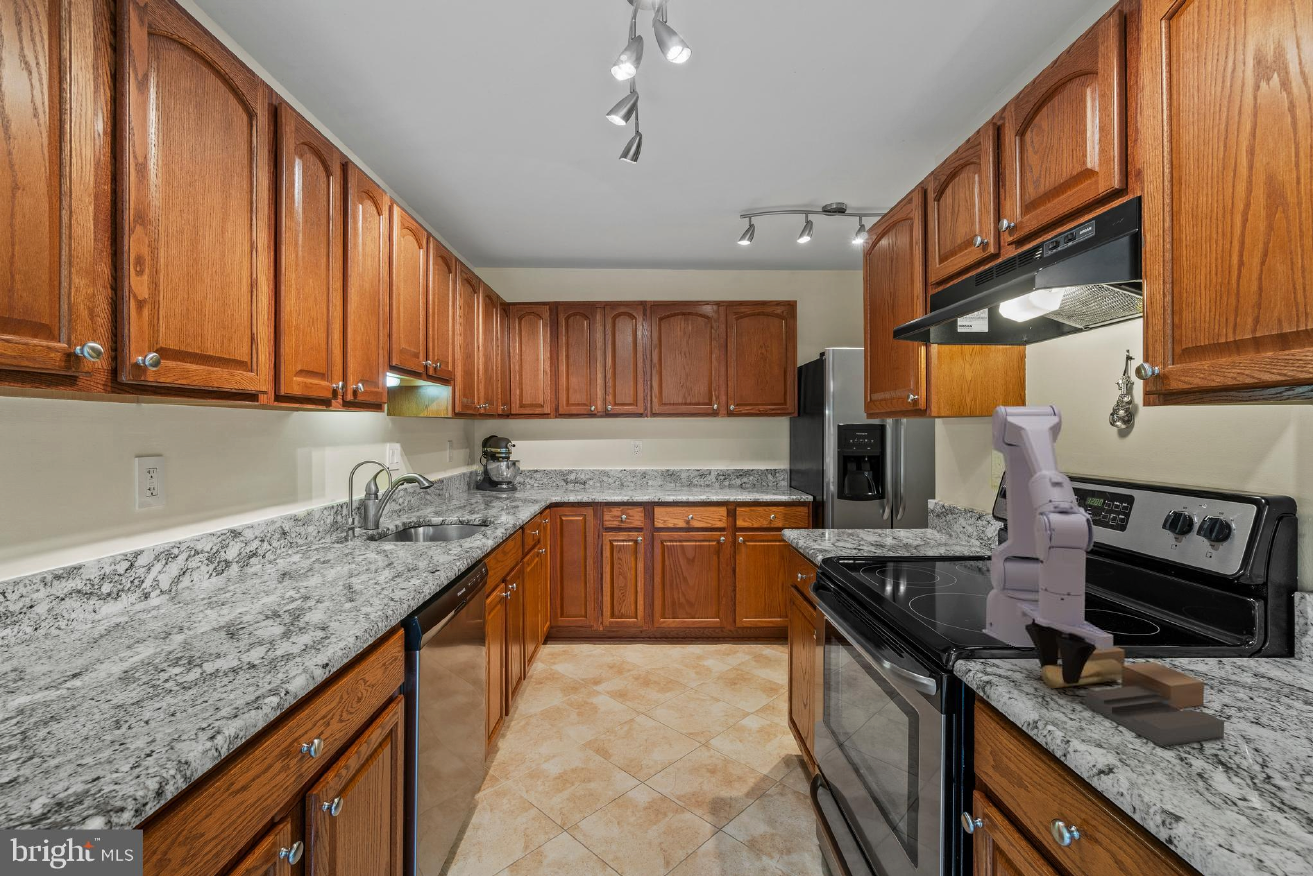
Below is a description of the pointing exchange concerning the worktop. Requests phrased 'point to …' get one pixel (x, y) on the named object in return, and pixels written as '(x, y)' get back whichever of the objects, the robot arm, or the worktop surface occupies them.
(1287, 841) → the worktop surface
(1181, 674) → the beam
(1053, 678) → the axle
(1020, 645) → the robot arm
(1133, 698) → the v block
